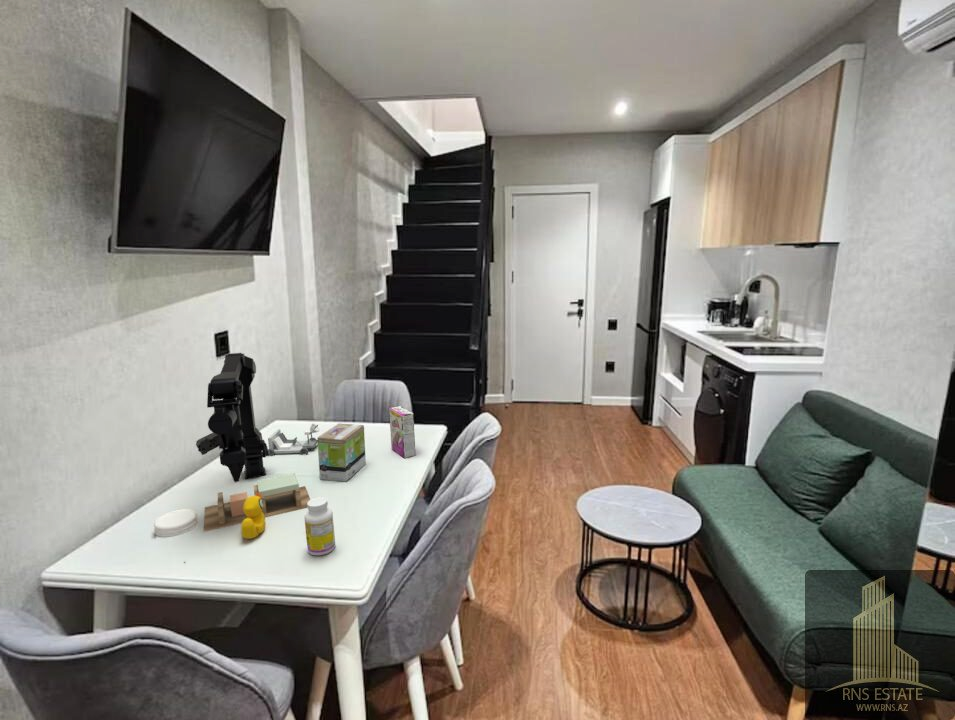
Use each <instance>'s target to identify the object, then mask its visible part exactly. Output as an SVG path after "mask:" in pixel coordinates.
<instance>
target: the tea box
mask: <svg viewBox="0 0 955 720" xmlns="http://www.w3.org/2000/svg"><path fill="white" fill-rule="evenodd" d="M365 439H366V438H365V426H364V424H355V423H354V424H352V423H351V424H350V423H337V424H336V425H334V426H333V427H331V428H329V429H328V430H327V431H325V432H323V433H322V434H321V435H319V436H318V437H317V438H316V440H318V443H317V452H318V468H319V471H318V472H319V479H320V480H323V481H332V482H333V481H335V482H347V481H348V480H349V479H351V478H352V477H353V476H354V475H356V473H357V472H358V471H359V470H360V469H361V468H362V467H364V466H365V465H366V463H367V462H366V459H367V458H366V441H365Z"/></svg>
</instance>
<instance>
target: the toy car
mask: <svg viewBox="0 0 955 720" xmlns="http://www.w3.org/2000/svg"><path fill="white" fill-rule="evenodd" d="M320 430H321V429H320V427H319V424H315V423H311V425H310V428H309V430H308V431H307V430H306V431H304V432H303V433H304V435H305V436H307V437H306V438H307V440H297V439H298V437H296V436H295V438H293V439H287V437H286V435H285V434H284V432H281V428H278V429H275V431H274V432H273V433H272V434H271V435H270V436H269V437H267V444H268V454H269V455H268V456H267V457H273V455H274V456H275V455H277V454H300V455H301V456H304V455H303V454H306V455H305V456H307V455H308V454H309V449H314V448H315V446H316V445H318V439H317V438H316V437H313V434H314V433H315V434H317V433H318V432H320ZM309 436H310V438H309Z"/></svg>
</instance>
